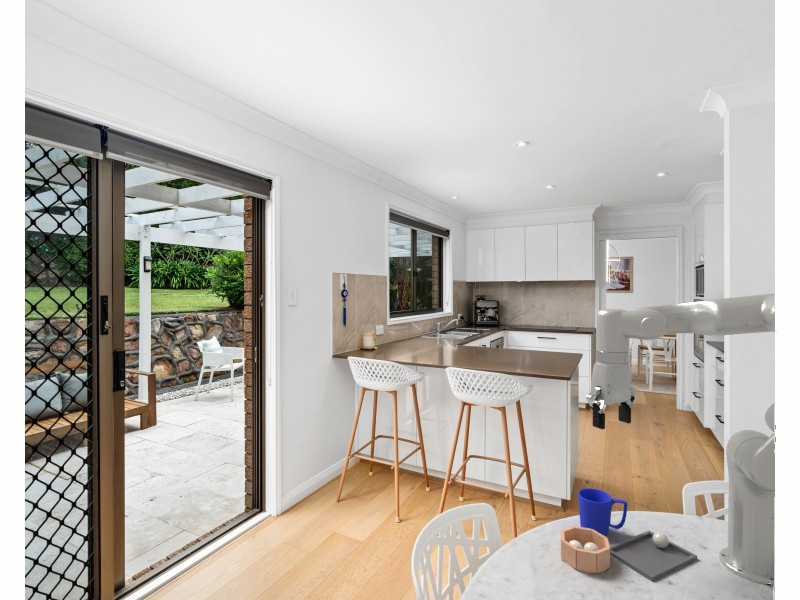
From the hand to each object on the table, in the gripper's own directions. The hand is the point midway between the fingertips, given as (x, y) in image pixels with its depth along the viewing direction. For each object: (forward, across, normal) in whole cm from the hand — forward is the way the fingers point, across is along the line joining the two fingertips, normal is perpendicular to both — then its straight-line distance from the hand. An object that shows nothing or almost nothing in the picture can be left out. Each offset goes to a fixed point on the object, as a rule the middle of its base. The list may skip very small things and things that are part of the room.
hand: (611, 424), depth 110 cm
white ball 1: (+30, +13, +1) cm, 32 cm away
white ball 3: (+30, -8, +8) cm, 32 cm away
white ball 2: (+29, +12, +2) cm, 31 cm away
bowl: (+30, +12, +2) cm, 33 cm away
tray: (+30, -3, +8) cm, 32 cm away
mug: (+31, -2, -4) cm, 31 cm away
